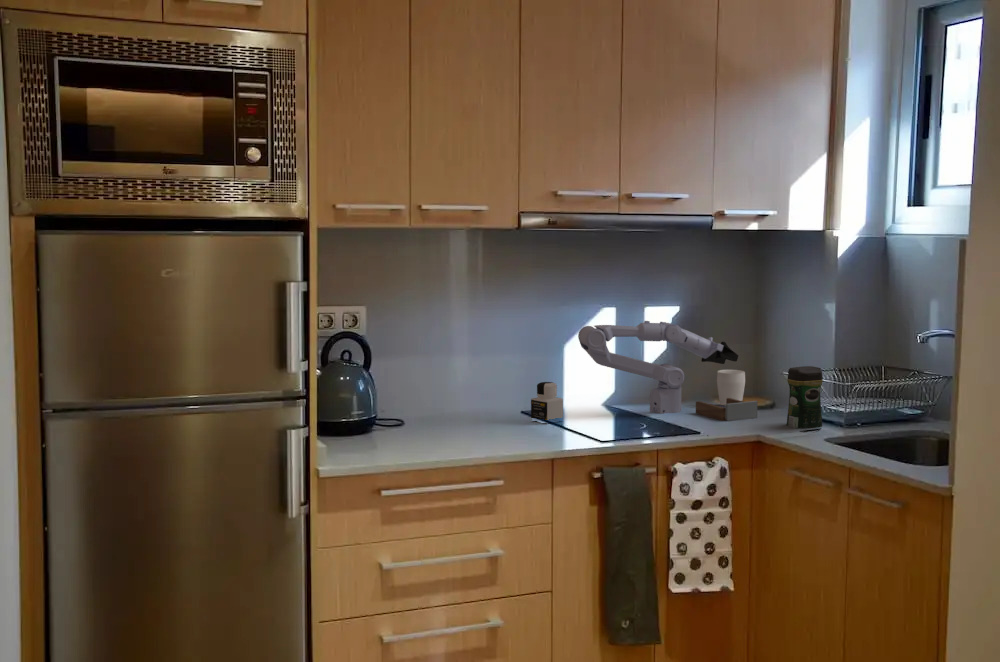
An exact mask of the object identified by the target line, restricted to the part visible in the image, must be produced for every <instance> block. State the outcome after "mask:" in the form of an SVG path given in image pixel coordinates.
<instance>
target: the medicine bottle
mask: <svg viewBox="0 0 1000 662" xmlns="http://www.w3.org/2000/svg"><path fill="white" fill-rule="evenodd" d="M557 389H558V385H557V384H556V383H555V382H552V381H541V382H539V383H537V385H536V396H537V397H531V398H530V419H531V418H537V419H544V420H549V419H555V418H562V417H563V418H564V399H563V398H561V397H557V393H558V392H557V391H558V390H557Z"/></svg>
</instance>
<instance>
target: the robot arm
mask: <svg viewBox="0 0 1000 662" xmlns="http://www.w3.org/2000/svg"><path fill="white" fill-rule="evenodd" d="M577 337H578V341H579V344H580V347H581V348H582V349H583V350H584V351H585V352H586V353H587V354H588V355H589V357H590V358H591V359H592V360H593V361H594V362H595V363H596V364H597V365H599V366H603V367H607V368H611V369H614V370H618V371H622V372H626V373H631V374H634V375H638V376H642V377H647V378H650V379H653V380H657V381H658V385H657V387H655V388H653V389H651V391H650V394H649V413H656V414H659V415H663V414H677V413H681V412H682V384H683V383H684V381H685V373H684V371H683V370H682V369H681V368H679V367H676V366H673V365H671V364H669V363H663V364H661V363H660V364H657V363H652V362H648V361H644V360H641V359H638V358H637V359H636V358H633V357H629V356H625V355H623V354H617V353H613V352H610V351H609V348H608V346H607V342H610V341H611V340H612V339H613V338H621V337H622V338H625V337H626V338H627V337H628V338H629V337H631V338H632V337H636V338H637V339H638V340H639V341H640V342H662V341H663V342H664V341H665V342H668V343H669V344H674V345H675V346H677V347H678V348H681V349H684V350H686V351H687V352H691V353H692V354H694V355H695V356H697V357H700V358H701V363H705V362H706V363H707V362H708V363H714V364H721V365H725V363H726V360H728V361H731V362H734V363H735V362H737V361H738V359H739V354H737V353H736V352H735V351H733V350H732V348H730V346H729V345H728V344H727V342H726V341H721V342H720V343H719V342H718V343H716V342H715V341H713V339H714V338H713V337H712V336H710V337H708V338H705V337H703V336H700V335H698V334H697V333H694V332H691V331H689V330H687V329H684V328H682V327H680V325H678V324H674V323H670V322H666V321H659V322H651V321H650V320H644V321H643V322H640V323H639V324H638V325H637V326H629V325H618V324H617V325H613V324H599V325H597V324H596V325H593V326H592V325H584V326H583V327H581V329H580V330H579V332H578V336H577Z"/></svg>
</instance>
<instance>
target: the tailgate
mask: <svg viewBox="0 0 1000 662" xmlns="http://www.w3.org/2000/svg"><path fill="white" fill-rule="evenodd" d="M725 408H726V411H725V421H724V422H732V421H741V420H747V419H756V418H757V419H758V400H750V401H749V400H748V401H744V402H740V403H730V404H726V406H725Z"/></svg>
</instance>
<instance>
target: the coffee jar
mask: <svg viewBox="0 0 1000 662" xmlns="http://www.w3.org/2000/svg"><path fill="white" fill-rule="evenodd" d="M786 381H787V383H788V388H789V398H788V409H787V417H786V426H788V427H790V428H794V429H801V430H799V433H800V432H801V433H802V432H803V433H808V432H815V431H816V432H817V431H821V430H822V427H823V416H822V403H821V400H822V399H821V388H822V385H823V381H824V379H823V371H822V369H821V367H818V366H814V365H809V366H808V365H805V366H796V367H795V366H794V367H789V369H788V370H787V380H786ZM802 429H803V430H802ZM804 429H805V430H804Z"/></svg>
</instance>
